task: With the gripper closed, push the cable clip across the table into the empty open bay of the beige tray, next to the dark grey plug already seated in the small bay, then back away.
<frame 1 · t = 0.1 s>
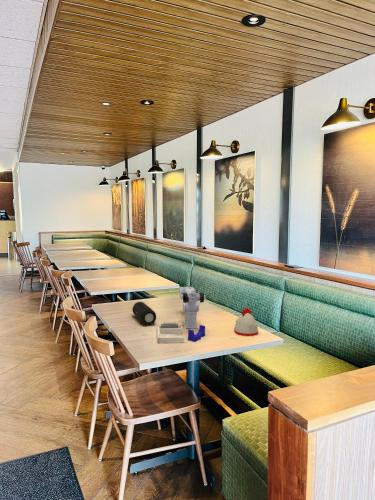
hand: (195, 299, 202), 22 cm above the table, tool horizontal, fingers open, 7 cm apart
portable speaker: (143, 320, 234), on the table
cable clip: (197, 338, 203), on the table
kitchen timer: (245, 332, 215), on the table
seated twin plug: (169, 332, 212), resting in beige tray
beige tray: (170, 336, 205), on the table
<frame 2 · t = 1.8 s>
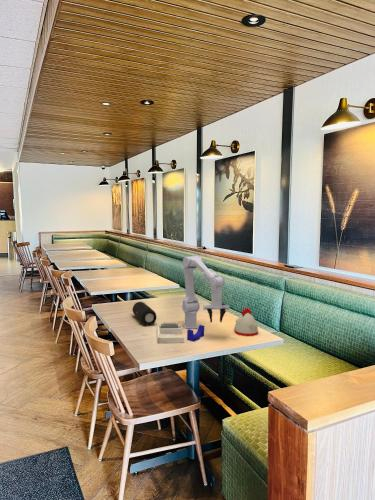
hand: (215, 321, 203), 9 cm above the table, tool pointing down, fingers open, 5 cm apart
nothing on the table moved.
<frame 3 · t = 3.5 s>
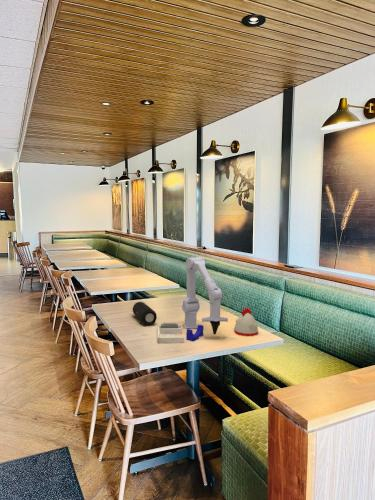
hand: (214, 333, 204), 2 cm above the table, tool pointing down, fingers closed
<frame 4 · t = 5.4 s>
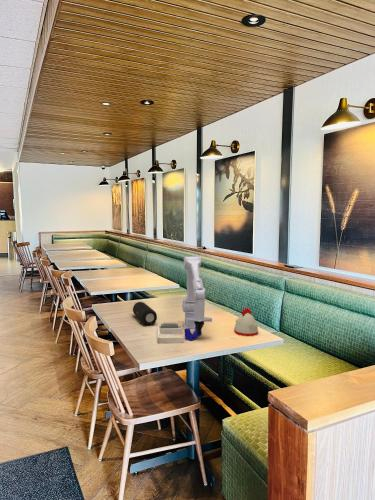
hand: (198, 334, 203), 2 cm above the table, tool pointing down, fingers closed
cable clip: (194, 337, 204), on the table, touching gripper
everything else where it was.
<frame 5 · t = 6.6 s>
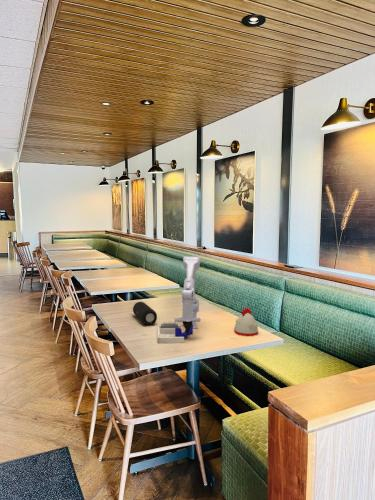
hand: (187, 334, 202), 2 cm above the table, tool pointing down, fingers closed
cable clip: (185, 336, 206), on the table, touching gripper
everything else where it was.
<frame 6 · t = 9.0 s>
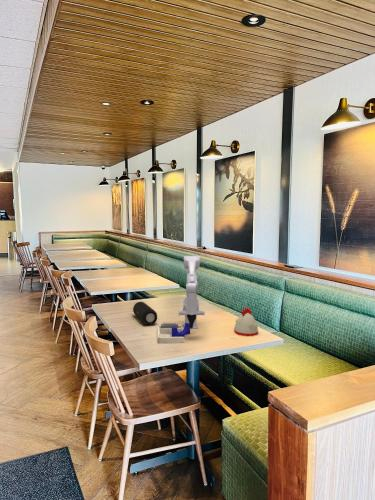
hand: (191, 327, 202), 6 cm above the table, tool pointing down, fingers closed
cable clip: (181, 336, 207), resting in beige tray
everything else where it was.
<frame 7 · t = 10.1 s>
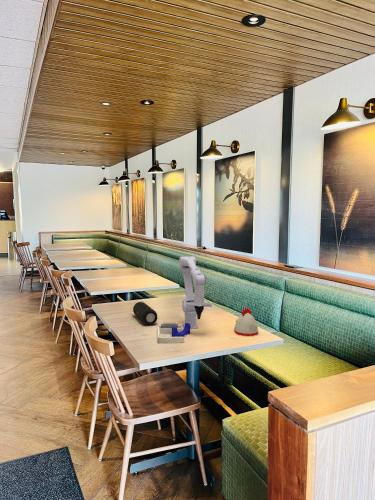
hand: (198, 318, 208), 9 cm above the table, tool pointing down, fingers closed
nothing on the table moved.
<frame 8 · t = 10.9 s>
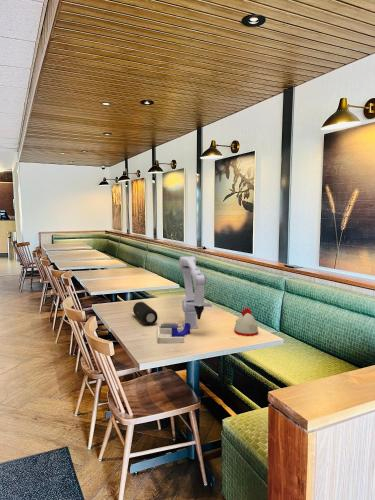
hand: (198, 318, 208), 9 cm above the table, tool pointing down, fingers closed
nothing on the table moved.
at the end: cable clip inside the target area on the beige tray (7.8 cm from its centre), point 0.0 cm above the beige tray's base; cable clip moved 10.0 cm from its start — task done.
